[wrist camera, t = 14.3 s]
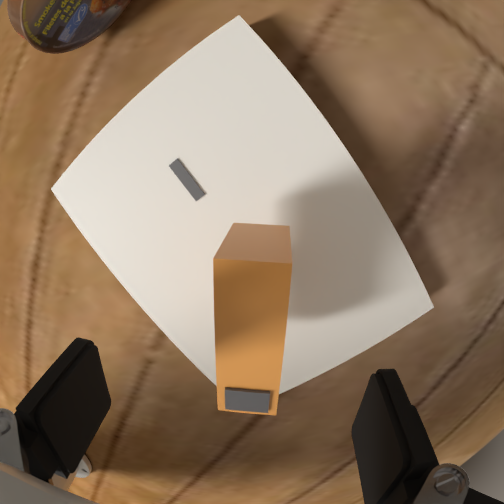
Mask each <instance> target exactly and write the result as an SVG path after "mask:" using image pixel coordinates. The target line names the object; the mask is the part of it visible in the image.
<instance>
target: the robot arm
mask: <svg viewBox="0 0 504 504" xmlns="http://www.w3.org/2000/svg"><path fill="white" fill-rule="evenodd" d="M110 406H111V398H110V395H109V391H108V387H107V384H106V380H105V376H104V372H103V368H102V364H101V360H100V356H99V352H98V348H97V346H95V345H94V343H93V342H92V341H91V340H87V339H82V338H76V339H75V340H74V341H73V342H72V343H71V344H70V345H69V346H68V348H67V349H66V350H65V351H64V352H63V353H62V354H61V355H60V356H59V358H58V359H57V360H56V361H55V362H54V363H53V364H52V366H51V367H50V368H49V369H48V370H47V371H46V373H45V374H44V375H43V376H42V377H41V378H40V380H39V381H38V382H37V383H36V384H35V385H34V387H33V388H32V389H31V390H30V391H29V393H28V394H27V395H26V396H25V397H24V399H23V400H22V401H21V402H20V403H19V405H18V406H17V407H16V410H17V411H16V412H15V413H14V414H13V413H12V412H11V411H9V410H8V409H4V408H0V504H99V503H96V502H93V501H90V500H88V499H85V498H82V497H80V496H77V495H75V494H73V493H70V492H68V489H69V487H70V485H71V484H72V482H73V480H74V478H75V477H81V478H84V477H87V476H88V475H89V474H90V472H91V470H92V466H91V464H90V461H89V460H88V458H87V457H86V455H85V452H86V450H87V448H88V447H89V445H90V443H91V441H92V439H93V437H94V436H95V434H96V432H97V430H98V428H99V427H100V425H101V423H102V421H103V419H104V418H105V416H106V414H107V412H108V410H109V409H110ZM352 439H353V444H354V449H355V454H356V459H357V464H358V469H359V475H360V480H361V486H362V492H363V497H364V503H365V504H504V503H503V502H501V501H499V500H496V499H494V498H492V497H489V496H487V495H485V494H482V493H480V492H478V491H476V490H474V489H471V488H469V484H470V482H469V477H468V475H467V473H466V472H465V471H464V470H463V469H462V468H461V467H459V466H457V465H455V464H451V463H445V464H441V465H439V463H438V460H437V457H436V455H435V452H434V450H433V447H432V445H431V442H430V440H429V437H428V435H427V433H426V430H425V428H424V425H423V423H422V421H421V418H420V416H419V414H418V411H417V409H416V408H415V406H413V405H411V403H410V401H409V399H408V397H407V394H406V392H405V390H404V387H403V385H402V383H401V381H400V378H399V376H398V374H397V372H396V370H395V369H379V370H377V372H376V374H372V375H371V377H370V380H369V383H368V386H367V389H366V391H365V394H364V397H363V400H362V402H361V405H360V408H359V410H358V413H357V415H356V418H355V421H354V423H353V426H352Z"/></svg>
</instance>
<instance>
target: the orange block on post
mask: <svg viewBox="0 0 504 504" xmlns="http://www.w3.org/2000/svg"><path fill="white" fill-rule="evenodd" d="M291 274H292V251H291V238H290V226H284V225H268V224H250V223H233V224H232V226H231V228H230V230H229V231H228V233H227V235H226V237H225V238H224V240H223V242H222V244H221V245H220V247H219V249H218V251H217V252H216V254H215V256H214V258H213V286H214V329H215V359H216V383H217V404H218V410H222V411H230V412H240V413H251V414H264V415H276V412H277V404H278V396H279V388H280V380H281V372H282V363H283V354H284V345H285V336H286V326H287V316H288V306H289V296H290V285H291Z"/></svg>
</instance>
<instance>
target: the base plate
mask: <svg viewBox="0 0 504 504" xmlns="http://www.w3.org/2000/svg"><path fill="white" fill-rule="evenodd" d="M51 190H52V191H53V193H54V194H55V196H56V197H57V199H58V200H59V202H60V203H61V205H62V206H63V208H64V209H65V210H66V212H67V213H68V215H69V216H70V218H71V219H72V220H73V222H74V223H75V225H76V226H77V227H78V229H79V230H80V231H81V233H82V234H83V235H84V237H85V238H86V240H87V241H88V242H89V244H90V245H91V246H92V247H93V249H94V250H95V251H96V253H97V254H98V255H99V257H100V258H101V259H102V260H103V262H104V263H105V264H106V265H107V267H108V268H109V269H110V271H111V272H112V273H113V274H114V275H115V277H116V278H117V279H118V280H119V282H120V283H121V284H122V285H123V286H124V288H125V289H126V290H127V291H128V292H129V294H130V295H131V296H132V297H133V298H134V299H135V301H136V302H137V303H138V304H139V305H140V306H141V308H142V309H143V310H144V311H145V312H146V313H147V314H148V316H149V317H150V318H151V319H152V320H153V321H154V322H155V323H156V325H157V326H158V327H159V328H160V329H161V330H162V331H163V332H164V333H165V334H166V335H167V337H168V338H169V339H170V340H171V341H172V342H173V343H174V344H175V345H176V346H177V347H178V348H179V349H180V350H181V351H182V352H183V353H184V354H185V355H186V357H187V358H188V359H189V360H190V361H191V362H192V363H193V364H194V365H195V366H196V367H197V368H198V369H199V370H200V371H201V372H202V373H203V374H204V375H205V376H206V377H207V378H208V379H209V380H210V381H212V382H213V383H214V384H215V385H216V386H217V383H216V359H215V329H214V286H213V258H214V256H215V254H216V252H217V251H218V249H219V247H220V245H221V244H222V242H223V240H224V238H225V237H226V235H227V233H228V231H229V230H230V228H231V226H232V224H233V223H250V224H268V225H284V226H290V238H291V251H292V274H291V285H290V296H289V306H288V316H287V326H286V336H285V345H284V354H283V363H282V372H281V380H280V388H279V394H281V393H283V392H285V391H287V390H290V389H292V388H294V387H296V386H298V385H300V384H302V383H304V382H306V381H308V380H310V379H312V378H314V377H316V376H318V375H320V374H322V373H324V372H326V371H328V370H330V369H332V368H334V367H336V366H338V365H340V364H341V363H343V362H345V361H347V360H349V359H351V358H352V357H354V356H356V355H358V354H360V353H361V352H363V351H365V350H367V349H368V348H370V347H372V346H374V345H375V344H377V343H379V342H380V341H382V340H384V339H385V338H387V337H389V336H390V335H392V334H394V333H395V332H397V331H399V330H400V329H402V328H403V327H405V326H406V325H408V324H410V323H411V322H413V321H414V320H416V319H417V318H419V317H420V316H422V315H423V314H425V313H426V312H428V311H429V310H431V309H432V308H434V306H433V304H432V302H431V299H430V297H429V295H428V293H427V291H426V289H425V286H424V284H423V282H422V280H421V278H420V276H419V274H418V272H417V270H416V268H415V266H414V264H413V262H412V260H411V258H410V256H409V254H408V252H407V250H406V248H405V247H404V245H403V243H402V241H401V239H400V237H399V235H398V233H397V232H396V230H395V228H394V226H393V224H392V223H391V221H390V219H389V217H388V216H387V214H386V212H385V210H384V209H383V207H382V205H381V203H380V202H379V200H378V198H377V197H376V195H375V193H374V192H373V190H372V188H371V187H370V185H369V184H368V182H367V180H366V179H365V177H364V176H363V174H362V172H361V171H360V169H359V168H358V166H357V165H356V163H355V162H354V160H353V158H352V157H351V155H350V154H349V152H348V151H347V149H346V148H345V146H344V145H343V144H342V142H341V141H340V139H339V138H338V136H337V135H336V133H335V132H334V130H333V129H332V128H331V126H330V125H329V123H328V122H327V121H326V119H325V118H324V117H323V115H322V114H321V112H320V111H319V110H318V108H317V107H316V106H315V104H314V103H313V102H312V100H311V99H310V98H309V96H308V95H307V94H306V92H305V91H304V90H303V89H302V87H301V86H300V85H299V84H298V82H297V81H296V80H295V78H294V77H293V76H292V75H291V74H290V72H289V71H288V70H287V69H286V67H285V66H284V65H283V64H282V63H281V61H280V60H279V59H278V58H277V57H276V55H275V54H274V53H273V52H272V51H271V50H270V49H269V47H268V46H267V45H266V44H265V43H264V42H263V41H262V39H261V38H260V37H259V36H258V35H257V34H256V33H255V32H254V31H253V29H252V28H251V27H250V26H249V25H248V24H247V23H246V22H245V21H244V20H243V19H242V18H241V17H240V16H237V17H236V18H234V19H233V20H231V21H230V22H228V23H227V24H225V25H224V26H222V27H221V28H219V29H218V30H216V31H215V32H214V33H212V34H211V35H209V36H208V37H207V38H205V39H204V40H203V41H201V42H200V43H199V44H197V45H196V46H195V47H193V48H192V49H191V50H189V51H188V52H187V53H186V54H184V55H183V56H182V57H181V58H179V59H178V60H177V61H176V62H174V63H173V64H172V65H171V66H169V67H168V68H167V69H166V70H165V71H163V72H162V73H161V74H160V75H159V76H158V77H156V78H155V79H154V80H153V81H152V82H151V83H150V84H149V85H147V86H146V87H145V88H144V89H143V90H142V91H141V92H140V93H139V94H138V95H136V96H135V97H134V98H133V99H132V100H131V101H130V102H129V103H128V104H127V105H126V106H125V107H124V108H123V109H122V110H121V111H120V112H119V113H118V114H117V115H116V116H115V117H114V118H113V119H112V120H111V121H110V122H109V123H108V124H107V125H106V126H105V127H104V128H103V129H102V130H101V131H100V132H99V133H98V134H97V135H96V137H95V138H94V139H93V140H92V141H91V142H90V143H89V144H88V145H87V146H86V148H85V149H84V150H83V151H82V152H81V153H80V154H79V156H78V157H77V158H76V159H75V160H74V161H73V163H72V164H71V165H70V166H69V167H68V168H67V170H66V171H65V172H64V173H63V175H62V176H61V177H60V178H59V180H58V181H57V182H56V183H55V185H54V186H53V187H52V188H51Z"/></svg>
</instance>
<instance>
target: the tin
mask: <svg viewBox="0 0 504 504" xmlns="http://www.w3.org/2000/svg"><path fill="white" fill-rule="evenodd" d="M130 2H131V0H8V15H9V19H10V22H11V24H12V26H13V27H14V29H15V30H16V32H17V33H18V34H19V35H20V36H22V37H23V38H24V39H26V40H27V41H28V42H29V43H30V44H31V45H32V46H33V47H34V48H36V49H37V50H39V51H42V52H45V53H54V54H56V53H64V52H68V51H72V50H74V49H77V48H79V47H81V46H83V45H85V44H87V43H89V42H90V41H92V40H94V39H95V38H96V37H98V36H99V35H100V34H101V33H103V32H104V31H105V30H106V29H107V28H108V27H109V26H110V25H112V24H113V22H114V21H115V20H116V19H117V18H118V17H119V16H120V14H121V13H122V12H123V11H124V9H125V8H126V7H127V5H128V4H129V3H130Z"/></svg>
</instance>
